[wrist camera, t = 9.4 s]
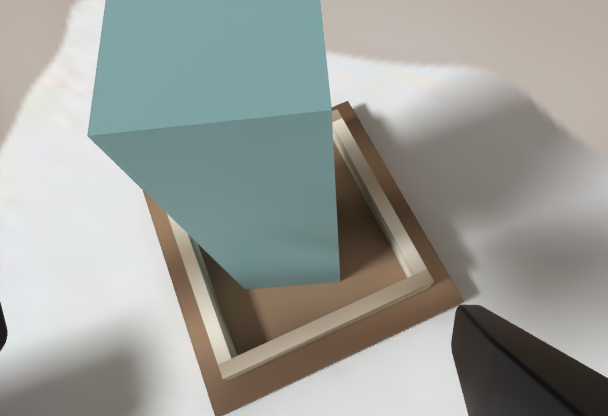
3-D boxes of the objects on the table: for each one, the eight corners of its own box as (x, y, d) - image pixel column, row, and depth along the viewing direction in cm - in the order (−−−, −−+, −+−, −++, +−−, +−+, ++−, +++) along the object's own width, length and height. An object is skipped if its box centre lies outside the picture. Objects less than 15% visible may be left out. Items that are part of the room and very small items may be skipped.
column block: (331, 193, 23) (313, -66, 10) (340, 281, 21) (331, 109, 8) (243, 201, 23) (111, -40, 10) (245, 289, 21) (87, 135, 8)
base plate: (458, 304, 21) (472, 294, 19) (221, 416, 20) (205, 419, 18) (347, 111, 26) (347, 83, 23) (149, 195, 25) (129, 175, 22)
